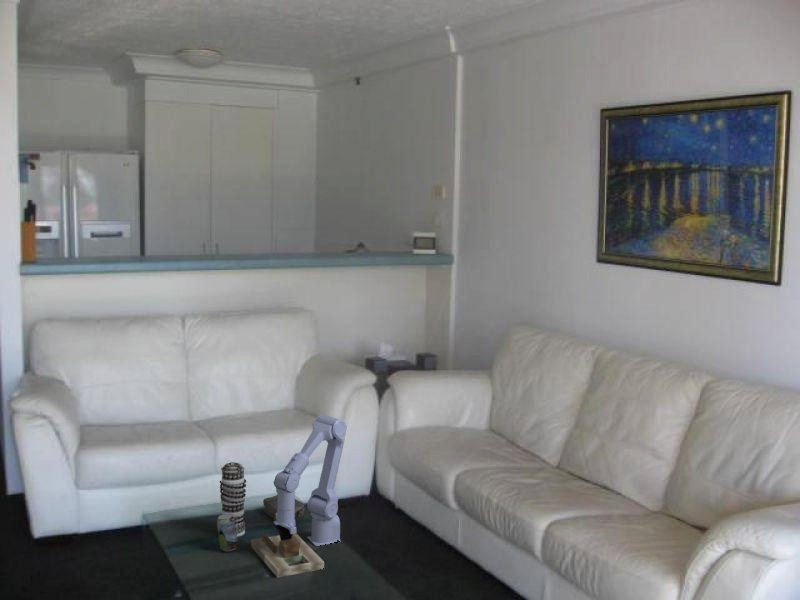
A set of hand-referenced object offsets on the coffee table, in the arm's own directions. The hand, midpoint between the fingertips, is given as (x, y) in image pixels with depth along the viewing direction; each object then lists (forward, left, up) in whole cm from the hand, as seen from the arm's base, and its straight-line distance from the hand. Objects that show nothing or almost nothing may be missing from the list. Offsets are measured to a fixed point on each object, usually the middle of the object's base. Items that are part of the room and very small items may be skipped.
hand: (285, 546), depth 323 cm
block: (0, +4, -1) cm, 4 cm away
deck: (0, +1, -3) cm, 4 cm away
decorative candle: (+10, -26, -4) cm, 28 cm away
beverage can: (+16, -13, -4) cm, 21 cm away
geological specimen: (-12, -36, -4) cm, 38 cm away
